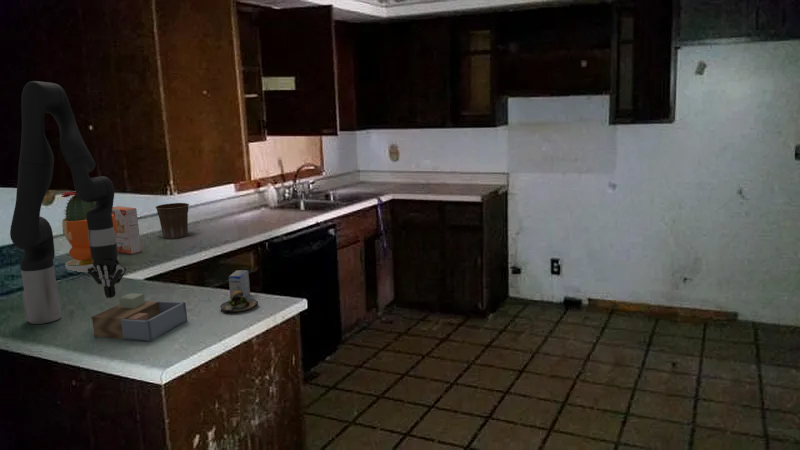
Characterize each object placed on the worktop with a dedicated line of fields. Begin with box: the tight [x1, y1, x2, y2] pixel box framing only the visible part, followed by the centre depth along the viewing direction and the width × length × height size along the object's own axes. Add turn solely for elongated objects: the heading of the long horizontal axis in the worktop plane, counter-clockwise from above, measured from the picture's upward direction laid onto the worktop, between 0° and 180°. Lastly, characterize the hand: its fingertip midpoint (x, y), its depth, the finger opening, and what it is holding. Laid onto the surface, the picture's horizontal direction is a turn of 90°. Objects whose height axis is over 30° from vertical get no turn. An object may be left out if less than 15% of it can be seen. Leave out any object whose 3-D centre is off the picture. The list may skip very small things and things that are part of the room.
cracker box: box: [112, 205, 143, 255], centre depth 302 cm, size 14×6×21 cm, turn 55°
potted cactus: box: [60, 191, 117, 272], centre depth 273 cm, size 22×22×35 cm
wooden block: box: [91, 300, 160, 339], centre depth 198 cm, size 11×16×6 cm
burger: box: [220, 289, 259, 315], centre depth 212 cm, size 12×12×8 cm
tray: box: [121, 300, 188, 343], centre depth 195 cm, size 9×18×6 cm, turn 163°
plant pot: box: [155, 202, 190, 240], centre depth 334 cm, size 16×16×16 cm
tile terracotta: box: [128, 313, 148, 321], centre depth 192 cm, size 5×5×3 cm
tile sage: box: [118, 292, 146, 308], centre depth 200 cm, size 5×5×3 cm
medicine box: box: [228, 269, 251, 299], centre depth 224 cm, size 8×4×9 cm, turn 175°
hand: (110, 297), depth 202 cm, fingers closed
